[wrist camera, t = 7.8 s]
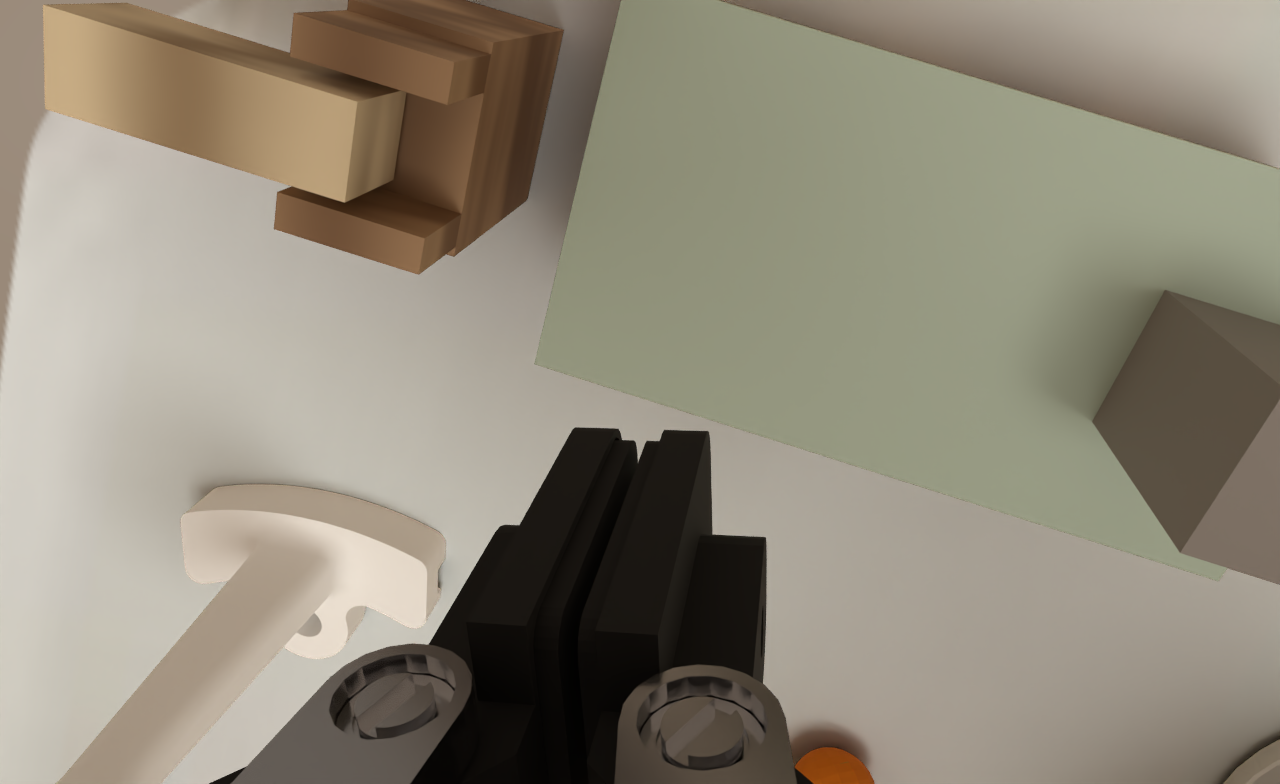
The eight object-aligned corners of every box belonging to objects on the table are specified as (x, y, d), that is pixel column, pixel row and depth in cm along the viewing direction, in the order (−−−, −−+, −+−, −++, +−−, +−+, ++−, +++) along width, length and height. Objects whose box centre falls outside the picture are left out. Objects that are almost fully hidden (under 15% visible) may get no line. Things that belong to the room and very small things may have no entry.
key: (406, 88, 24) (357, 102, 22) (393, 179, 25) (344, 203, 23) (126, 2, 25) (42, 4, 22) (124, 95, 26) (45, 108, 23)
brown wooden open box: (1277, 177, 29) (1510, 270, 20) (1124, 441, 33) (1254, 623, 24) (462, -68, 30) (303, -94, 20) (415, 219, 34) (266, 308, 25)
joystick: (447, 514, 40) (150, 955, 22) (441, 650, 43) (179, 1134, 25) (207, 467, 41) (-267, 849, 23) (219, 603, 44) (-187, 1033, 26)
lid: (1441, 217, 23) (1705, 311, 16) (1207, 565, 27) (1337, 749, 21) (632, -26, 23) (566, -32, 17) (540, 354, 28) (461, 466, 21)
